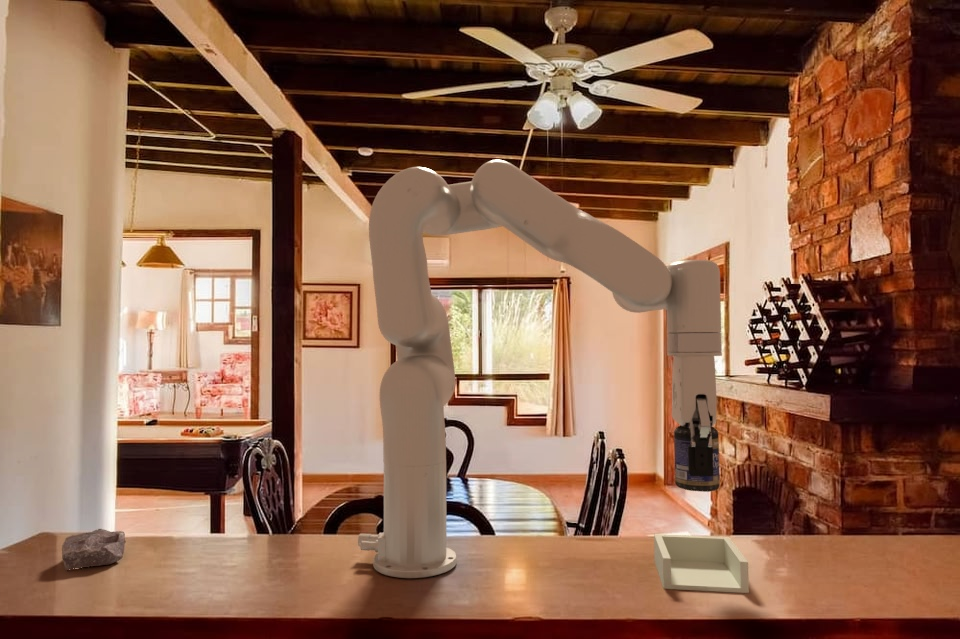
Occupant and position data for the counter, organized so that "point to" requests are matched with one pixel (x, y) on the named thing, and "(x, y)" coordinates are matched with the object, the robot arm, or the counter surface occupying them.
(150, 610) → the counter surface
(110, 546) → the rock
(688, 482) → the pill bottle
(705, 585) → the holder
